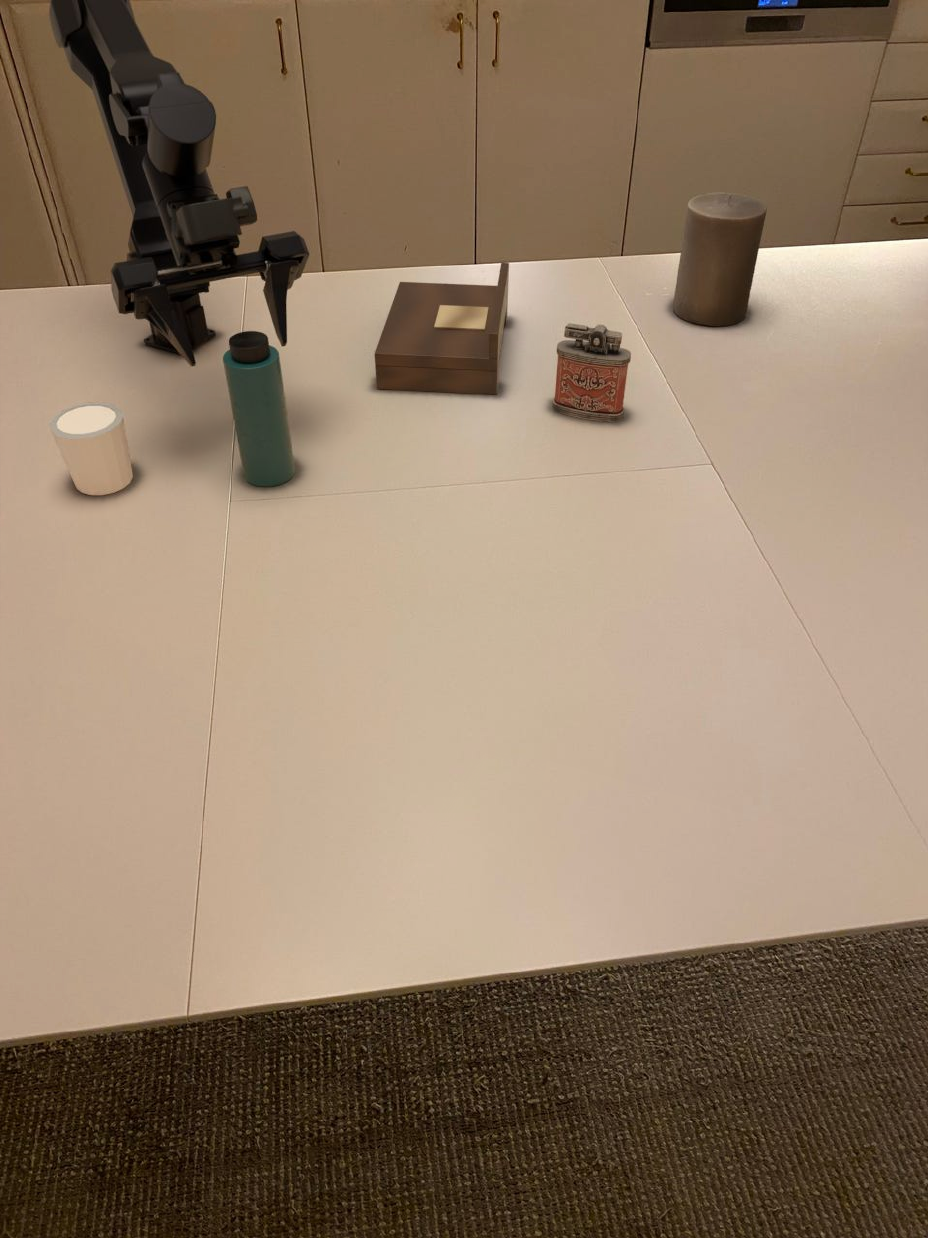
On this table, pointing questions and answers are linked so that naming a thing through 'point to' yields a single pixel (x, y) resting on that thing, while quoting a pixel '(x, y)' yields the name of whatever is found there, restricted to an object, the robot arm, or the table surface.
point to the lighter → (591, 373)
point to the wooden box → (443, 337)
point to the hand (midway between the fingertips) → (240, 354)
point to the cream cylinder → (94, 447)
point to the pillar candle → (718, 258)
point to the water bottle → (259, 409)
